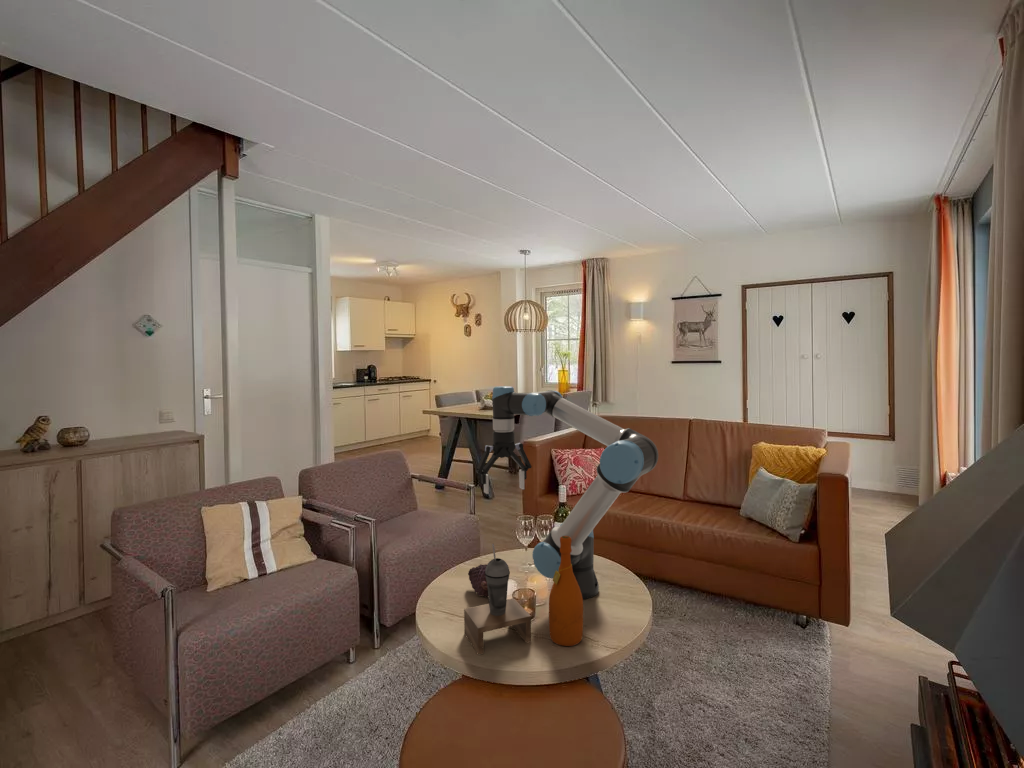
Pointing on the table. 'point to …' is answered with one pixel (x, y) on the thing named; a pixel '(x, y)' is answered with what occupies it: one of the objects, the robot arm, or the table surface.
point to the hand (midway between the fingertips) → (504, 490)
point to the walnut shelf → (495, 622)
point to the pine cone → (479, 580)
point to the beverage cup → (497, 584)
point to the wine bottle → (565, 601)
